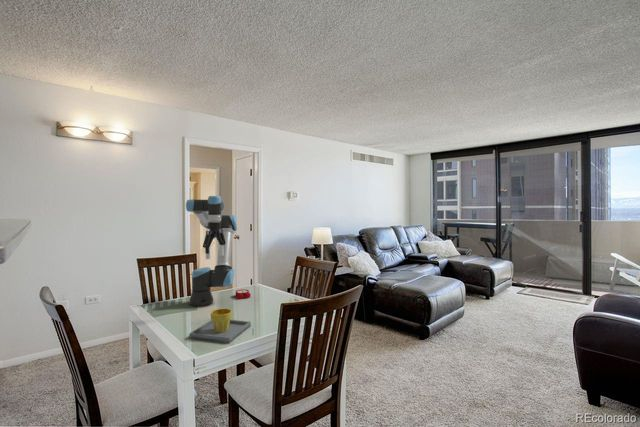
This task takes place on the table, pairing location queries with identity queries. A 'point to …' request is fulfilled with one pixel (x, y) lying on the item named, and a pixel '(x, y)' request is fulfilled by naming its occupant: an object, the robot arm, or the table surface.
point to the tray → (226, 337)
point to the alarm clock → (242, 294)
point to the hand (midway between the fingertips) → (214, 257)
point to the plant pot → (221, 319)
